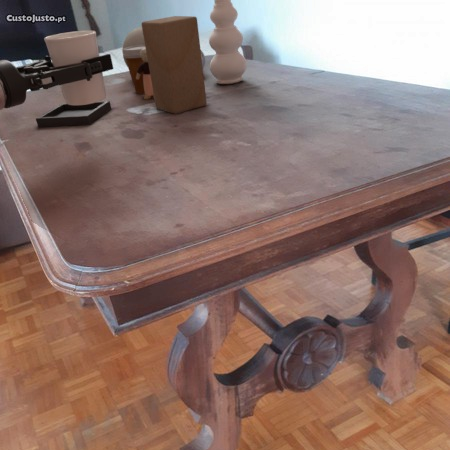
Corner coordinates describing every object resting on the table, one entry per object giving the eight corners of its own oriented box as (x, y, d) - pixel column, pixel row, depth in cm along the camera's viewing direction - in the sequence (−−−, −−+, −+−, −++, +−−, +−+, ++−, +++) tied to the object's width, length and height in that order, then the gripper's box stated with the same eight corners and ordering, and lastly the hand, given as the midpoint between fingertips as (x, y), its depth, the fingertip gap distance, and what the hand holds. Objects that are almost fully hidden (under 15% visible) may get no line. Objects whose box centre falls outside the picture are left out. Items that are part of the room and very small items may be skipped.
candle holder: (105, 103, 94) (89, 35, 87) (56, 108, 94) (37, 41, 87) (114, 92, 102) (100, 28, 95) (69, 96, 102) (52, 33, 95)
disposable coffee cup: (128, 96, 140) (119, 51, 133) (132, 89, 148) (124, 46, 141) (160, 93, 140) (153, 47, 133) (162, 86, 148) (155, 43, 141)
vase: (236, 87, 136) (227, -17, 122) (204, 86, 141) (193, -14, 127) (254, 78, 143) (248, -21, 129) (223, 78, 149) (214, -18, 134)
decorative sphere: (125, 77, 166) (116, 28, 158) (167, 70, 169) (160, 22, 160) (130, 84, 154) (119, 32, 146) (175, 77, 157) (167, 25, 148)
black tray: (38, 127, 122) (35, 118, 120) (63, 111, 133) (61, 103, 132) (89, 124, 119) (87, 115, 117) (111, 108, 130) (109, 100, 129)
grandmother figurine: (142, 100, 134) (132, 51, 127) (139, 98, 137) (129, 49, 130) (168, 95, 136) (160, 46, 129) (164, 93, 139) (156, 45, 132)
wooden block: (175, 114, 118) (160, 22, 106) (155, 108, 125) (140, 21, 113) (207, 105, 122) (197, 16, 111) (187, 100, 129) (175, 15, 118)
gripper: (-26, 104, 92) (69, 77, 105) (35, 115, 80) (134, 83, 93) (-43, 61, 87) (59, 39, 101) (20, 66, 75) (126, 40, 89)
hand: (95, 60), depth 97 cm, fingers closed on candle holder, 9 cm apart
